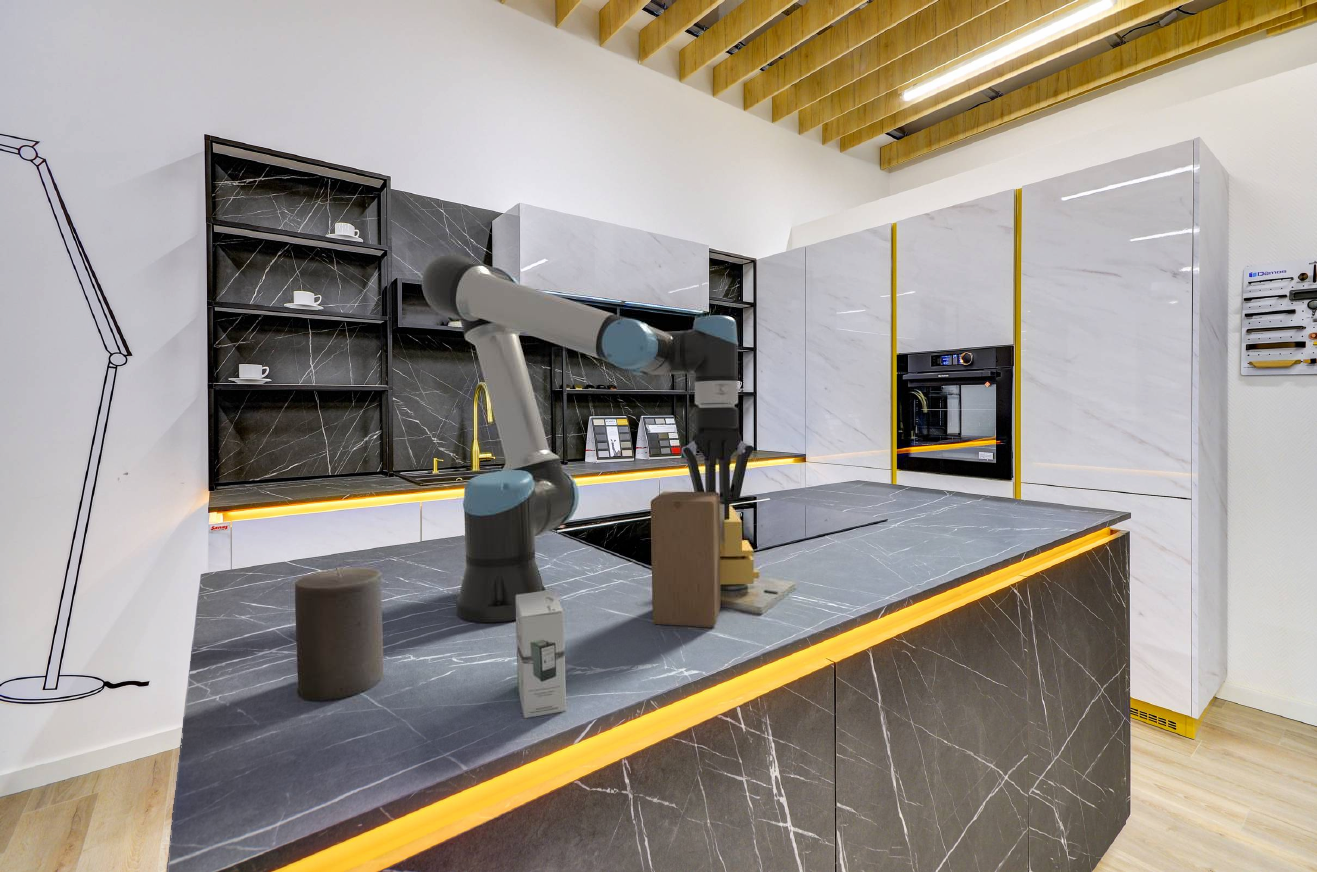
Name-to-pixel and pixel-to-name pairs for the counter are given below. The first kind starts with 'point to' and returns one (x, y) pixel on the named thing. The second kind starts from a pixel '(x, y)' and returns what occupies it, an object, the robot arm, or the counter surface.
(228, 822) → the counter surface
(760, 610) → the base
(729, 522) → the yellow block with bar
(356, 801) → the counter surface
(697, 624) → the wooden block
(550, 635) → the ink box
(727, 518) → the robot arm
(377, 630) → the pillar candle
